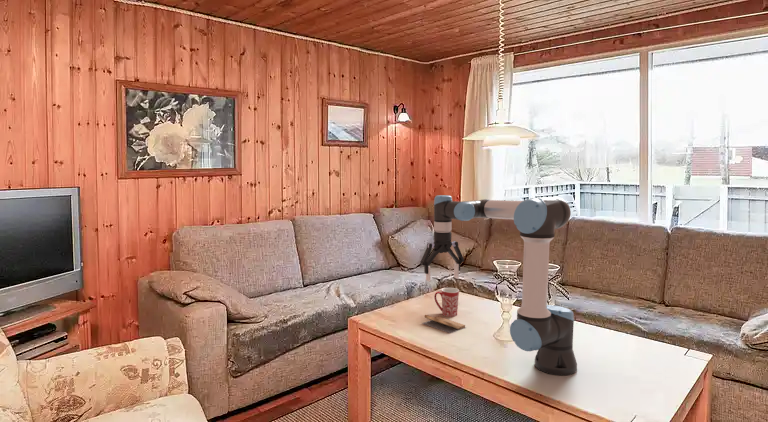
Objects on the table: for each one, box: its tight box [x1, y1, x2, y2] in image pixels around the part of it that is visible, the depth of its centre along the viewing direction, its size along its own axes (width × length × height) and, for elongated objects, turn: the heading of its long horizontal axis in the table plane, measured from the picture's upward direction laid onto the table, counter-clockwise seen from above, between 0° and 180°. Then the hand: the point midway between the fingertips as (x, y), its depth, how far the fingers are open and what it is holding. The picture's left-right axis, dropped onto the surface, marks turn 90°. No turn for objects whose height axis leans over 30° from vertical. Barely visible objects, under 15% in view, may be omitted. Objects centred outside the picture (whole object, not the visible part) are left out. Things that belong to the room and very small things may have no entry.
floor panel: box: [421, 315, 467, 334], centre depth 233 cm, size 18×11×2 cm, turn 40°
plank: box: [424, 314, 460, 329], centre depth 232 cm, size 17×6×1 cm, turn 40°
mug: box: [433, 287, 460, 318], centre depth 249 cm, size 13×9×14 cm
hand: (442, 279), depth 217 cm, fingers open, 13 cm apart
